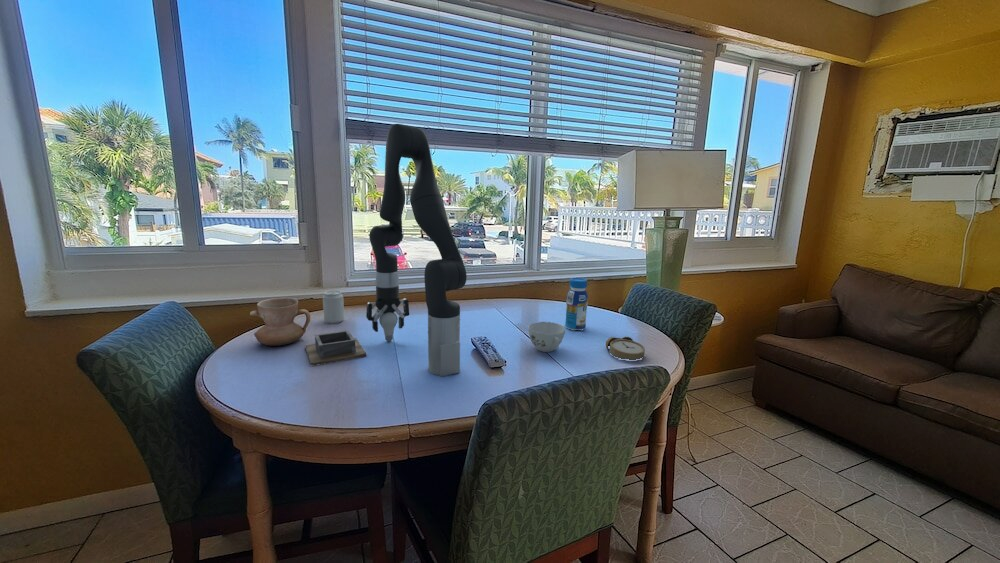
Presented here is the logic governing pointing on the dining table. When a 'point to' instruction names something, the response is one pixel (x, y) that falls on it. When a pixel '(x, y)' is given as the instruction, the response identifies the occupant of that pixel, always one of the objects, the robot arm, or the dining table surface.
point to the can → (333, 306)
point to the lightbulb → (388, 324)
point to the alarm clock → (625, 348)
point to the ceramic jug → (279, 321)
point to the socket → (334, 348)
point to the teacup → (546, 335)
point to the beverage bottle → (576, 304)
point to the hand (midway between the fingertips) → (388, 329)
